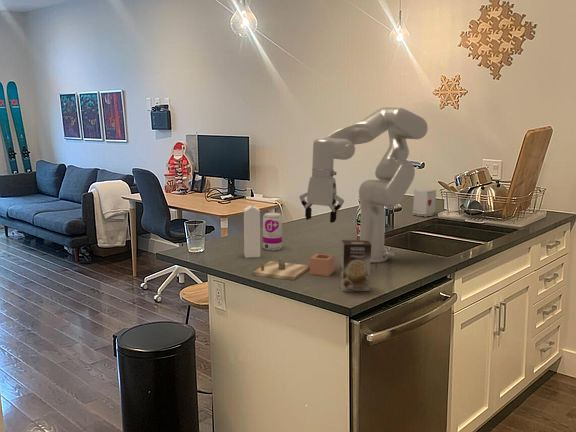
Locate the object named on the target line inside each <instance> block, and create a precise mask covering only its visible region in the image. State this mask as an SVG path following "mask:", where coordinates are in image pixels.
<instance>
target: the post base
mask: <svg viewBox="0 0 576 432" xmlns="http://www.w3.org/2000/svg"><path fill="white" fill-rule="evenodd" d="M307 271H310V264H309V265H308V264H298V263H290V262H286V258H285V257H278V261H272V260H270V261H267V263H265V261H261V262H260V267H259V268H257V269H256V270H255V269H254V271H252V276H256V277H264V278H272V279H280V280H288V281H289V280H290V281H296V280H297V279H299V278H300V277H301V276H302V275H304V274H305V273H306V272H307Z"/></svg>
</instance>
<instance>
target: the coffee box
mask: <svg viewBox="0 0 576 432" xmlns="http://www.w3.org/2000/svg"><path fill="white" fill-rule="evenodd" d="M371 263H372V262H371V243H370V242H368V241H363V240H360V239H359V240H356V239H352V240H351V239H342V240H341V253H340V278H339V281H340V282H339V286H340V289H341V291H342V292H354V291H369V292H370V281H371V280H370V279H371Z"/></svg>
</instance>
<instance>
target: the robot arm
mask: <svg viewBox="0 0 576 432" xmlns="http://www.w3.org/2000/svg"><path fill="white" fill-rule="evenodd" d="M428 129H429V128H428V123H427V121H426V120H425V119H424V118H423V117H421V116H420V115H417V114H416V113H413V112H412V111H410V110H408V109H406V108H403V107H382V108H379V109H377V110H376V111H373V112H372V113H371V114H369V115H368V116H366V117H365V118H364V119H362V120H360V121H359V122H356V123H352V124H350V125H346V126H345V127H342V128H339V129H337V130H335V131H333V132H331V133H330V134H328V135H327V136H325V137H324V138H316V139H315V140H314V141H313V144H312V147H313V148H312V165H311V167H312V168H311V176H310V178H309V181H308V186H307V192H305V193H303V194H301V195H299V196H298V197H299V199H300V202H301V204H302V206H303V208H304V209H305V213H304V214H305V215H304V216H305V220H306V221H307V220H311V219H312V212H313V211H312V206H313V205H315V206H323V207H324V206H325V207H329V208H330V210H331V211H330V213H329V214H330V216H329V222H330V223H331V224H333V223H335V222H336V221H337V212H338V211H339V209H341V208H342V206H343V204H344V203H345V200H344V199H343V198H342V197H340V196H339V195H337V192H338V191H337V182H336V178H335V177H334V176H337V173H338V172H337V171H336V170H334V160H342V161H345V160H349V159H351V158H352V157H353V156H354V155H355V153H356V147H355V146H356V145H362V144H366V143H367V144H368V143H369V142H372V141H373V140H375V139H376V138H378V137H379V136H381V135H382V134H384V133H385V132H387V131H388V138H389V140H388V141H389V146H388V148H387V150H386V152H385V153H384V154H383V157H382V159H380V161H379V162H378V165H377V166H376V168H375V172H374V173H375V174H374V175H375V177H376V179H366V180H365V181H363V182H362V183H361V184H360V186H359V189H358V196H359V197H358V199H359V203H360V226H359V227H360V231H359V240H363V241H368V242H370V243H371V263H383V262H386V261H387V260H388V257H390V258H395V254H396V253H395V251H393V250H387V248H386V247H385V233H386V232H385V230H386V229H385V228H386V213H385V209H384V207H385V208H395V207H396V206H398V205H399V204H400V202H401V201H402V199H403V197H404V196H405V194H406V193H407V192H408V190H409V189H410V186H411V184H412V183H413V180H414V178H415V175H416V174H415V173H416V172H415V171H416V170H415V166H414V164H413V163H412V162H411V161H410V160H407V159H408V157H409V155H410V150H409V149H410V148H409V146H408V142H407V140H421V139H423V138H424V137H425V136H426V135H427V133H428ZM337 202H338V203H337Z"/></svg>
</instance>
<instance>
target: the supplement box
mask: <svg viewBox="0 0 576 432" xmlns="http://www.w3.org/2000/svg"><path fill="white" fill-rule="evenodd" d="M413 190H414V191H413V204H412V207H413V208H412V214H413V213H417V214H431V213H434V212H435V213H436V203H437V201H436V200H437V189H434V188H433V189H432V188H426V187H421V188H415V189H413Z"/></svg>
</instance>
